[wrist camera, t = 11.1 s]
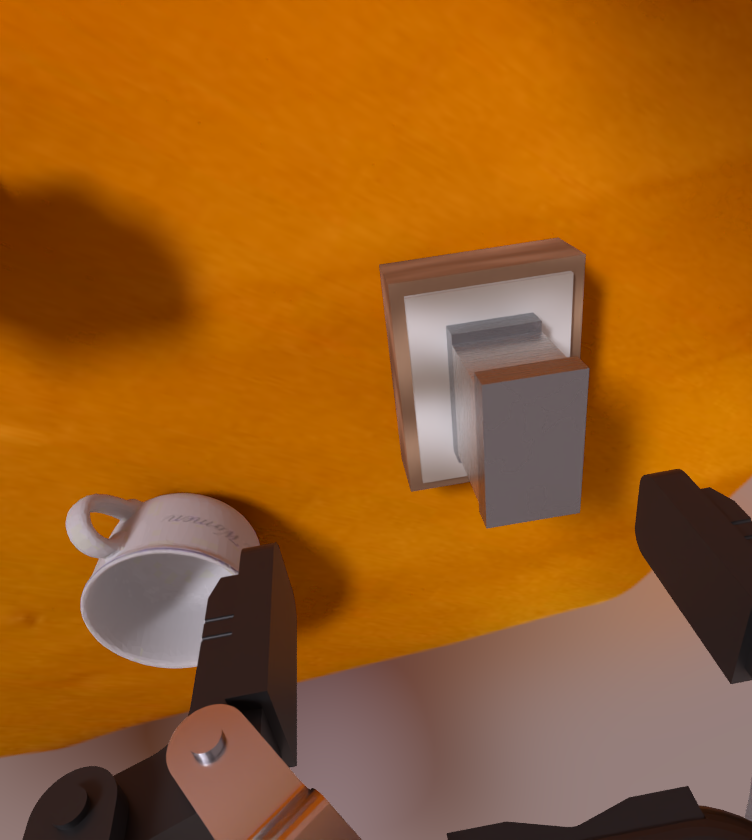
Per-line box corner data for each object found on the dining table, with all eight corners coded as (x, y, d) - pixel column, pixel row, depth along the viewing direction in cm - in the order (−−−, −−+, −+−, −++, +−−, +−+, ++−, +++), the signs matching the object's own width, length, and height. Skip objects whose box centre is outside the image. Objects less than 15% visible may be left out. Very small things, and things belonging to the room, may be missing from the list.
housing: (445, 325, 34) (481, 385, 28) (533, 312, 34) (589, 367, 28) (453, 450, 38) (486, 528, 32) (531, 438, 39) (579, 512, 32)
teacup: (290, 555, 47) (289, 638, 40) (165, 606, 48) (143, 696, 41) (193, 412, 40) (171, 482, 33) (50, 475, 41) (0, 556, 34)
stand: (379, 264, 36) (388, 286, 33) (558, 237, 37) (588, 256, 33) (401, 458, 43) (412, 495, 40) (552, 433, 44) (576, 467, 40)
